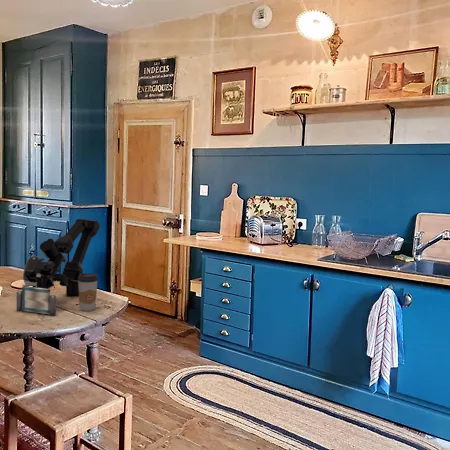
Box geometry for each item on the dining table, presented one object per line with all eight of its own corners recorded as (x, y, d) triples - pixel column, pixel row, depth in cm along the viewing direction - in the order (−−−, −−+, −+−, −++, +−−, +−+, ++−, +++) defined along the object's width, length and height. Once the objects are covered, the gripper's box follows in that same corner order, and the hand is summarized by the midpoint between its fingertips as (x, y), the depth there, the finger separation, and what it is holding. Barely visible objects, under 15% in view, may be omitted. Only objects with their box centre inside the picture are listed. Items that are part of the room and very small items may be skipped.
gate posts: (56, 314, 193) (57, 295, 192) (53, 316, 191) (53, 297, 190) (19, 309, 197) (19, 290, 196) (15, 311, 195) (15, 292, 194)
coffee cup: (79, 312, 197) (79, 277, 196) (75, 307, 205) (76, 273, 203) (99, 310, 201) (99, 276, 199) (95, 305, 208) (95, 272, 207)
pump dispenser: (40, 288, 231) (40, 258, 230) (19, 287, 232) (19, 257, 230) (48, 283, 242) (48, 254, 240) (28, 282, 242) (28, 253, 240)
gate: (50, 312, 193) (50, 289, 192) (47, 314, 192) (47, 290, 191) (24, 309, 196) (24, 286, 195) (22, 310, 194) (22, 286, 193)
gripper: (26, 251, 201) (8, 282, 192) (64, 255, 197) (48, 287, 187) (37, 266, 210) (21, 296, 200) (74, 270, 205) (59, 301, 196)
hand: (37, 295), depth 196 cm, fingers closed
